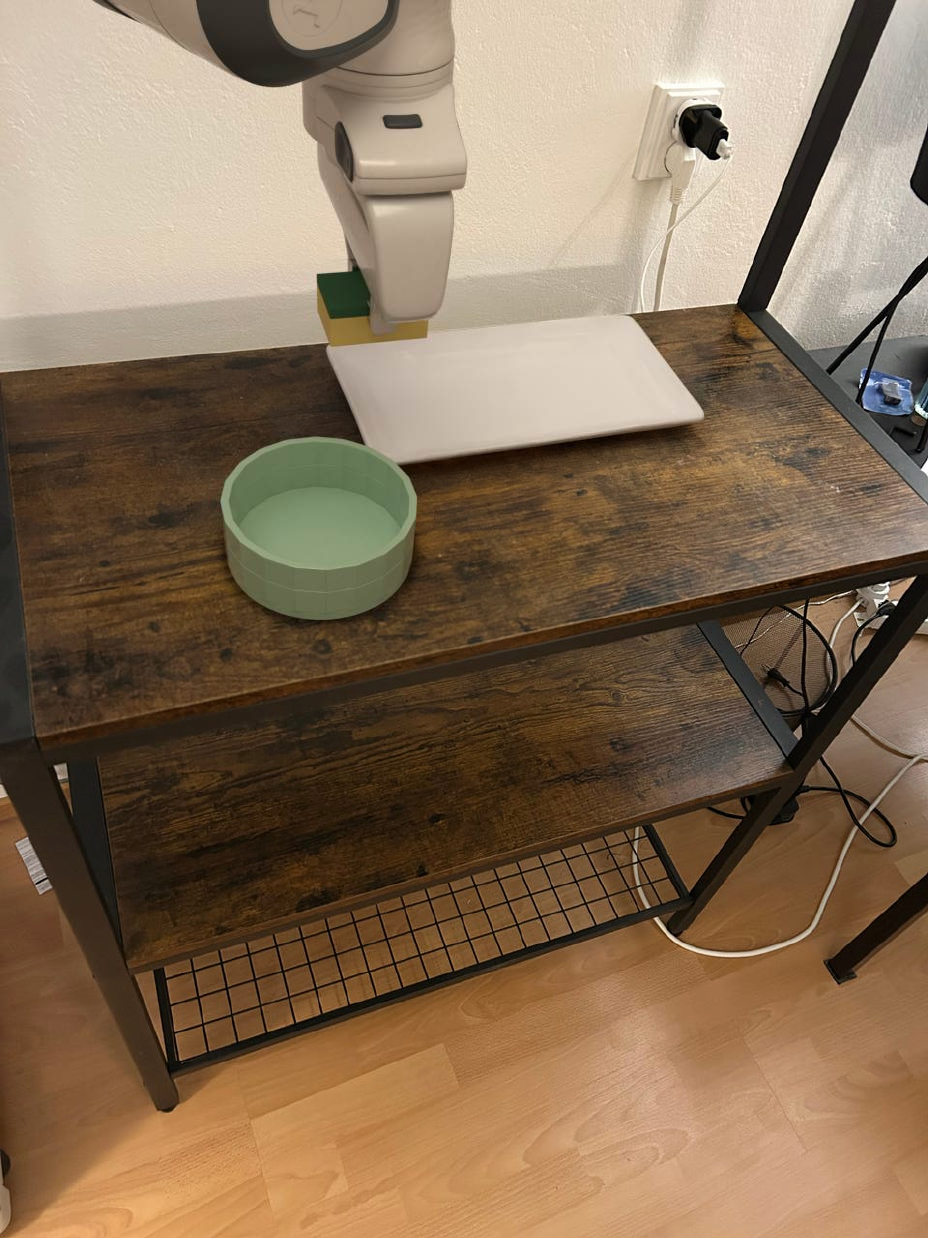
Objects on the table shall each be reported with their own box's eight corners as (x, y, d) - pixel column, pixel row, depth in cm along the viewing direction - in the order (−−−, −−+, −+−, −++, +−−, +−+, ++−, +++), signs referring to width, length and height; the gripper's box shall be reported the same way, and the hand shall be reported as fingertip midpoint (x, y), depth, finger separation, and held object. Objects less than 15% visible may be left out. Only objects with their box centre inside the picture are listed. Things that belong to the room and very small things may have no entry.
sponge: (330, 347, 67) (329, 309, 65) (317, 311, 70) (316, 273, 67) (427, 338, 69) (430, 300, 67) (411, 303, 72) (413, 266, 69)
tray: (700, 444, 90) (712, 414, 87) (372, 494, 80) (373, 461, 78) (622, 341, 100) (631, 310, 97) (322, 373, 90) (322, 341, 88)
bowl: (243, 634, 69) (238, 582, 65) (214, 501, 78) (208, 447, 74) (433, 603, 73) (440, 552, 69) (385, 480, 82) (389, 427, 78)
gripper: (291, 30, 63) (298, 232, 73) (364, 181, 51) (360, 397, 61) (385, 30, 65) (379, 227, 75) (478, 175, 52) (455, 386, 63)
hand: (371, 305), depth 68 cm, fingers closed on sponge, 4 cm apart
